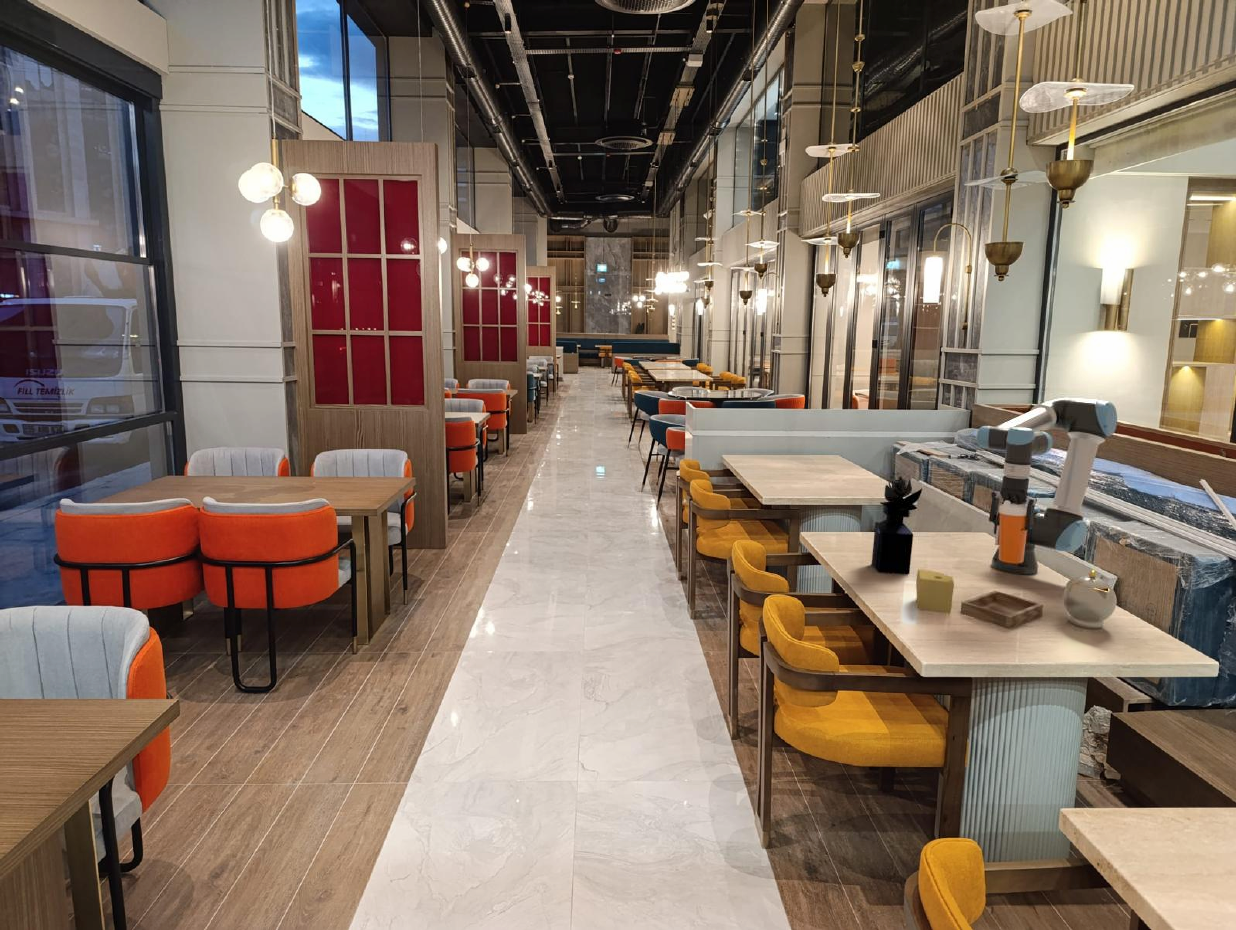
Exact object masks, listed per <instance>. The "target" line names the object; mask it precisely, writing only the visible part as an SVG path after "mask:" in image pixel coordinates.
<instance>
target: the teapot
mask: <svg viewBox="0 0 1236 930" xmlns="http://www.w3.org/2000/svg"><path fill="white" fill-rule="evenodd" d="M1097 576H1098V573H1097V572H1096V571H1095V570H1091V571H1089V572H1088V575H1085V576H1084V575H1083V576H1082V575H1081V576H1079V577H1076V578H1072V579H1070V580H1068V581H1067V582H1066V584H1065V586H1064V587H1065V588H1064V590H1063V593H1062V602H1063V606H1064V609H1066V611H1067V612H1068V614H1069V616H1068V621H1069V622H1070V623H1071V624H1072V625H1075V626H1077V627H1080V628H1085V629H1089V630H1092V629H1093V630H1096V629H1097V630H1098V629H1101V628H1103V626H1104V621H1105V620H1107V619H1108V618H1110V616H1112V615H1113V614H1114V612H1115V610H1116V608H1117V602H1118V601H1117V596H1116V592H1115V591H1114V589H1113V588H1112V586H1111V584H1109V583H1108V582H1107V581H1105V580H1104V579H1101V578H1100V577H1097Z"/></svg>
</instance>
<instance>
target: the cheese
mask: <svg viewBox="0 0 1236 930" xmlns="http://www.w3.org/2000/svg"><path fill="white" fill-rule="evenodd" d="M915 579H916V581H915V583H916V584H915V588H916V589H915V590H916V609H917V610H918V609H919V610H925V611H932V612H933V611H934V612H942V613H948V614H951V611H952V607H953V606H952V605H953V595H954V586H955V585H954V584H955V582H954V578H953V576H950V575H946V574H944V573H943V572H939V571H935V570H934V571H933V570H929V569H923V568H921V569H920V568H919V569H918V570H917V574H916V578H915Z"/></svg>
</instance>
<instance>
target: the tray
mask: <svg viewBox="0 0 1236 930" xmlns="http://www.w3.org/2000/svg"><path fill="white" fill-rule="evenodd" d="M1043 609H1044V604H1042V603H1039V602H1036V601H1032V600H1029V599H1026V598H1022V597H1019V596H1015V595H1011V594H1009V593H1004V592H1001V591H997V590H993V591H990V592H987V593H984V594H981V595H978V596H976V597H973V598H970V599H968V600H964V601H961V604H960V612H959V614H960V615H964V616H967V617H970V618H973V619H977V620H979V621H982V622H986V623H989V624H992V625H995V626H998V627H1001V628H1004V629H1007V630H1011V629H1014V628H1016V627H1017V626H1021V625H1024V624H1026V623H1028V622H1031V621H1033V620H1035V619H1039V618H1040V617H1042V615H1043V611H1044V610H1043Z"/></svg>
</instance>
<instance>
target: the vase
mask: <svg viewBox="0 0 1236 930" xmlns="http://www.w3.org/2000/svg"><path fill="white" fill-rule="evenodd" d="M892 475H895V476H897V478H898V479H896V478H895V477H893V476H892ZM892 475H891V476H890V479H894V480H891V481H890V480H888V484H885V485H884V498H885V500H886V501H885V502H884V501H883V502H881V501H880V502H878V503H879V504H880V505H882V506H883V509H882V512H883V514H885V516H886V519H884V520H882V521H880V522H878V523H877V524H875V525H874V534H873V544H872V555H871V565H872V567H873V568H874V570H875V571H876V572H877V573H878V574H893V573H894V574H896V575H908V574H909V575H910V570H911V560H912V550H913V541H914V534H913V532H912V531H911V530H910V529H909V528H908V526H907V525H906V524H905V523H904V518H910V516H911V515H910V513H911V511H914V510H917V509H918V507H917V506H915V503H917V502H918V501H919V499H920V498H921V497H920V496H921V494H922V491H923V488H920V489H919V490H917V491H915V492H912V490H913V486H912V483H911V479H910V478H909V479H908V483H907V479H906V478H903V477H902V476H901V475H900V474H899V472H897V473H895V472H893V473H892ZM906 483H907V484H906ZM906 485H907V486H906Z"/></svg>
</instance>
